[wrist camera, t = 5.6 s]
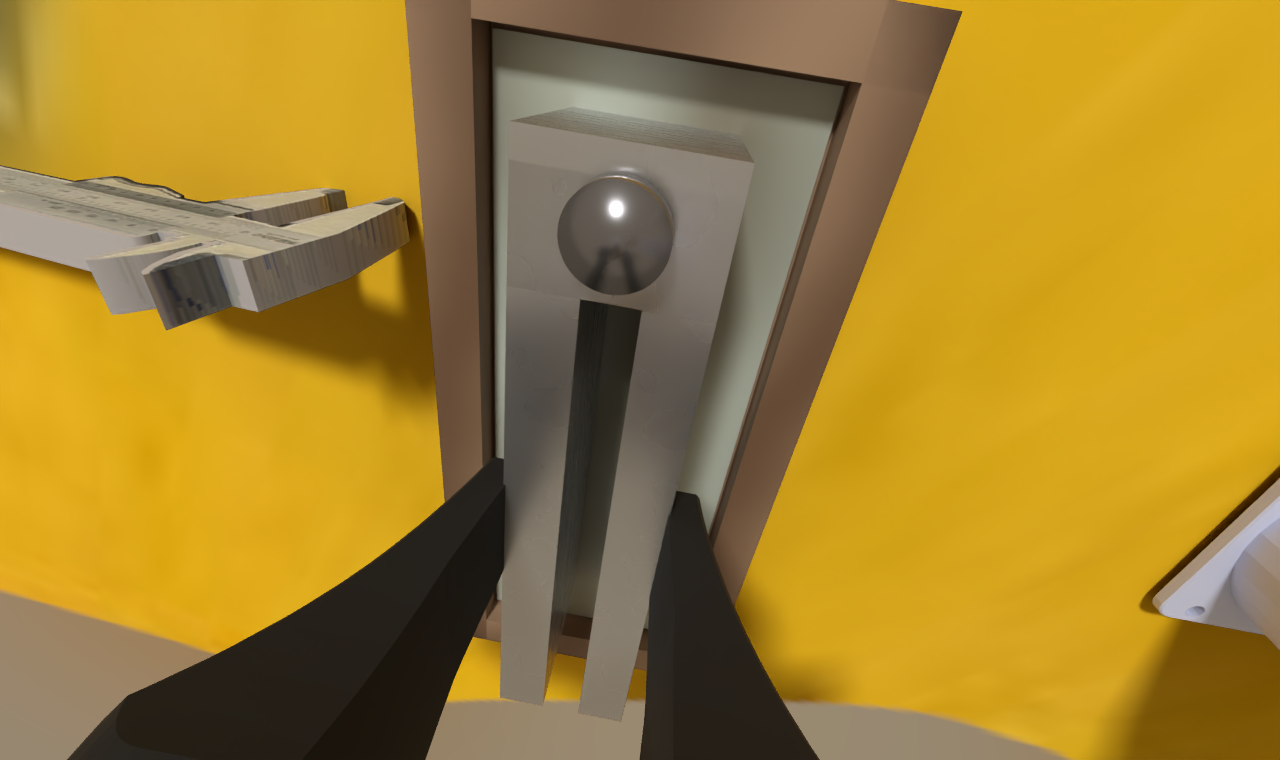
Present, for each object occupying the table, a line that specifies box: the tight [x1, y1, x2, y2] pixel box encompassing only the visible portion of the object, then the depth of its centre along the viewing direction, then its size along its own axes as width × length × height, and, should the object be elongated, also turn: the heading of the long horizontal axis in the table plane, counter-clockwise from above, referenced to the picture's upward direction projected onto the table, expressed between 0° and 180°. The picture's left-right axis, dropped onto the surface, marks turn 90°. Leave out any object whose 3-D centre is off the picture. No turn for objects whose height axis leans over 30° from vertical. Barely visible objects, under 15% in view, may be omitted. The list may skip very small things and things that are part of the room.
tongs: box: [500, 107, 755, 721], centre depth 12 cm, size 3×14×5 cm, turn 172°
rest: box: [405, 0, 962, 671], centre depth 15 cm, size 9×20×2 cm, turn 172°
